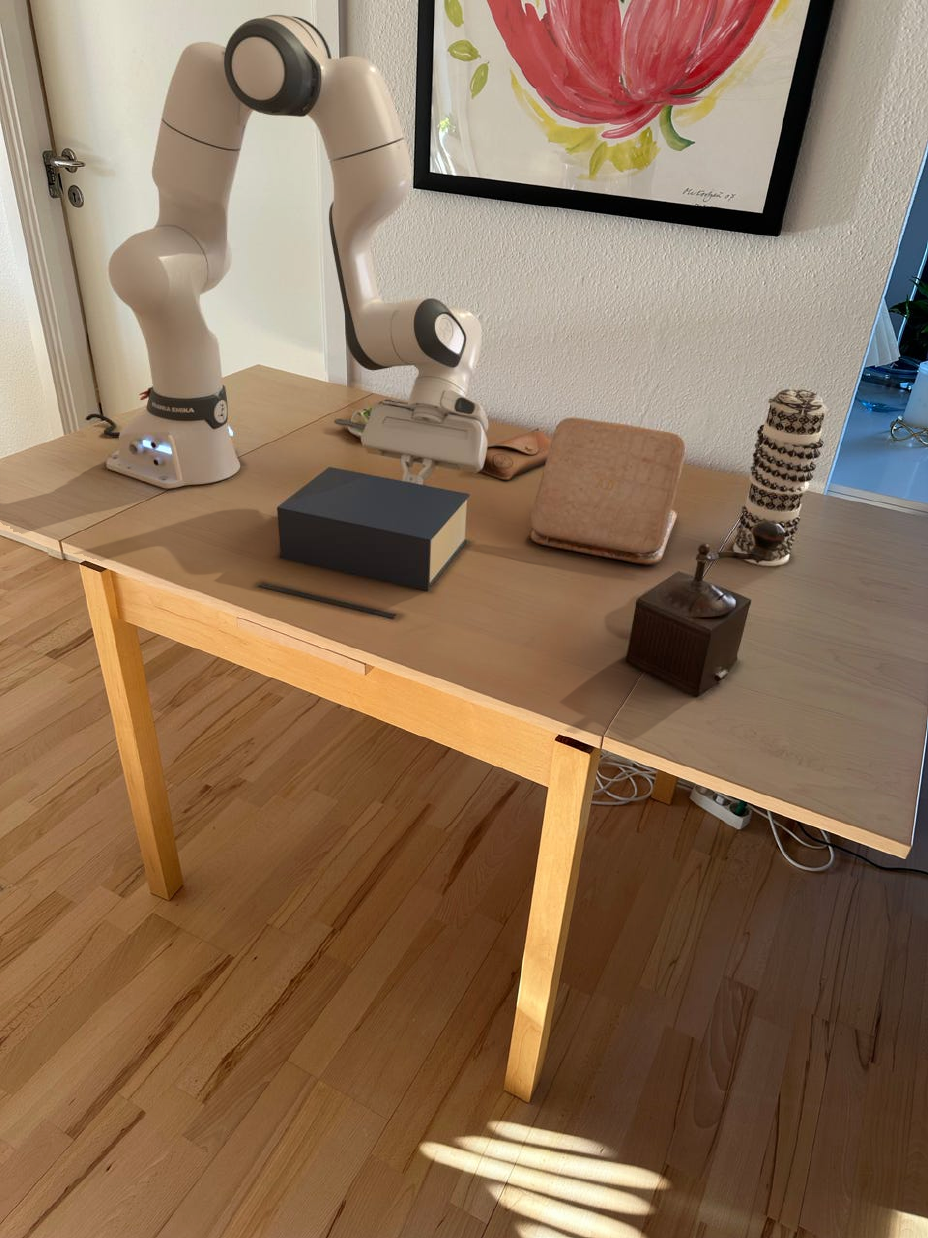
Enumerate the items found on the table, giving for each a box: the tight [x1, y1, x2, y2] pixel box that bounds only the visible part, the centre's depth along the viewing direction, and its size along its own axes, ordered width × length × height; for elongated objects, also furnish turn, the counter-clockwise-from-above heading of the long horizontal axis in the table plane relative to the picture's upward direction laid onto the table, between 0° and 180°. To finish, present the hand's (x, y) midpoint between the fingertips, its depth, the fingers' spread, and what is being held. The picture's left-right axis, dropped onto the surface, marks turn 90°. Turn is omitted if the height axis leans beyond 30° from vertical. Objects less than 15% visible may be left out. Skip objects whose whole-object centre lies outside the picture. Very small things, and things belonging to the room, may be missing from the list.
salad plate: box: [333, 406, 373, 439], centre depth 174 cm, size 19×18×5 cm
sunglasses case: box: [479, 427, 552, 481], centre depth 164 cm, size 18×7×7 cm, turn 139°
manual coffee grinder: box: [625, 521, 785, 697], centre depth 109 cm, size 16×11×18 cm
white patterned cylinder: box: [732, 388, 829, 567], centre depth 132 cm, size 9×9×25 cm
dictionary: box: [276, 466, 470, 592], centre depth 132 cm, size 23×16×8 cm
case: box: [529, 417, 687, 566], centre depth 139 cm, size 20×21×16 cm
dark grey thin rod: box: [258, 582, 397, 619], centre depth 121 cm, size 20×1×1 cm, turn 70°
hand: (410, 486), depth 142 cm, fingers closed
